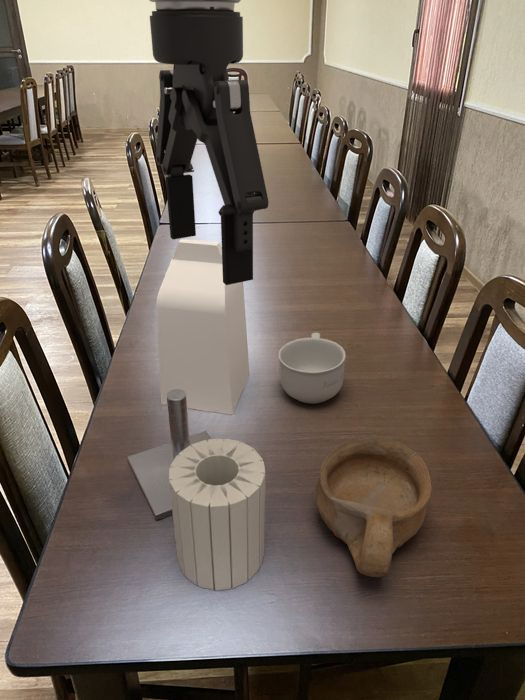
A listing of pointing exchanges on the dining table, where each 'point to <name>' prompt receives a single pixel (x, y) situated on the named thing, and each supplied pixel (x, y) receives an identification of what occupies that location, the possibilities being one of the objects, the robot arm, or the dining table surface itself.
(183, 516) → the paper towel roll
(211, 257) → the milk
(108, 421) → the dining table surface
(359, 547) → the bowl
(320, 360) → the teacup
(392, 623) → the dining table surface
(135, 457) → the towel stand
